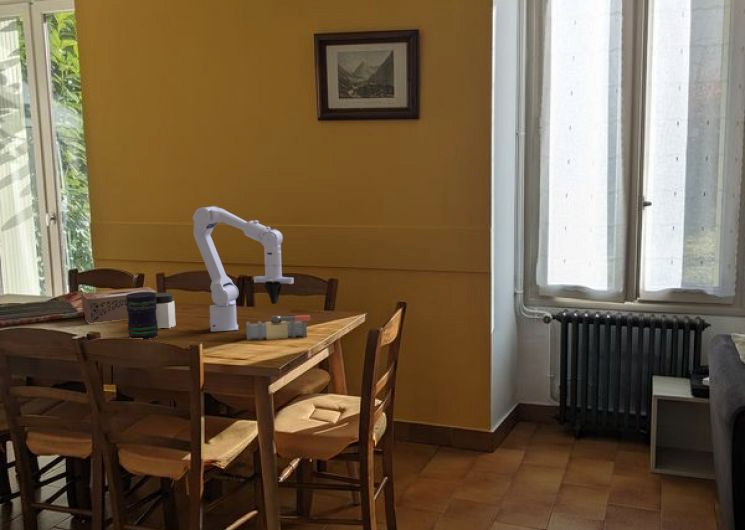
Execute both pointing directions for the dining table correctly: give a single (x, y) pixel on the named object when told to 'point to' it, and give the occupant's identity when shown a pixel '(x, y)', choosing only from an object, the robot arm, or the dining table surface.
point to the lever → (290, 318)
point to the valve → (276, 330)
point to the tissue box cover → (108, 304)
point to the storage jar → (142, 315)
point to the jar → (165, 310)
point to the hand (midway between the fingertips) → (274, 303)
